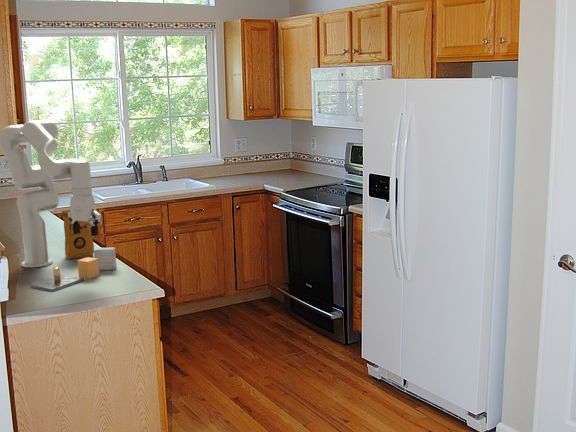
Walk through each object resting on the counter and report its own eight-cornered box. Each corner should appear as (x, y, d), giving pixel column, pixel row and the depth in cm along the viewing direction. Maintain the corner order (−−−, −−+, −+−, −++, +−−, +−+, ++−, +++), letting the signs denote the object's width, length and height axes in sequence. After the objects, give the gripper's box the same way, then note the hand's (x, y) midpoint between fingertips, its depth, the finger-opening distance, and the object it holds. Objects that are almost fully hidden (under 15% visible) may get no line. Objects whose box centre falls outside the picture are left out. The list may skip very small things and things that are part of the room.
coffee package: (95, 258, 310) (91, 209, 306) (65, 261, 306) (61, 211, 302) (93, 253, 319) (90, 205, 315) (65, 255, 315) (61, 207, 311)
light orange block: (78, 277, 280) (77, 260, 279) (89, 273, 285) (87, 257, 283) (89, 278, 277) (87, 261, 276) (99, 275, 282) (97, 258, 281)
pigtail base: (30, 287, 268) (29, 271, 266) (63, 276, 281) (61, 261, 280) (52, 291, 262) (50, 274, 260) (84, 280, 275) (83, 264, 274)
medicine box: (116, 267, 294) (115, 247, 292) (114, 270, 290) (113, 249, 288) (97, 267, 294) (96, 247, 292) (95, 270, 289) (93, 250, 288)
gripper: (59, 192, 275) (63, 234, 279) (91, 194, 267) (95, 238, 270) (73, 189, 282) (77, 231, 285) (105, 191, 273) (108, 234, 276)
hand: (86, 234), depth 277 cm, fingers open, 9 cm apart
